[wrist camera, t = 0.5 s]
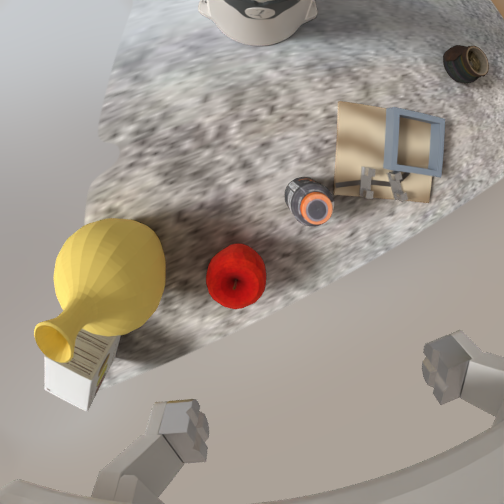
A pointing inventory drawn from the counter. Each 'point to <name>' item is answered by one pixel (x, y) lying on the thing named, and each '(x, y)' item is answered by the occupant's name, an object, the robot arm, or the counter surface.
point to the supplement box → (81, 369)
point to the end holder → (393, 138)
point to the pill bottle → (309, 201)
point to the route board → (379, 152)
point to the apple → (236, 276)
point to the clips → (393, 180)
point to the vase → (103, 284)
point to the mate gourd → (465, 63)
